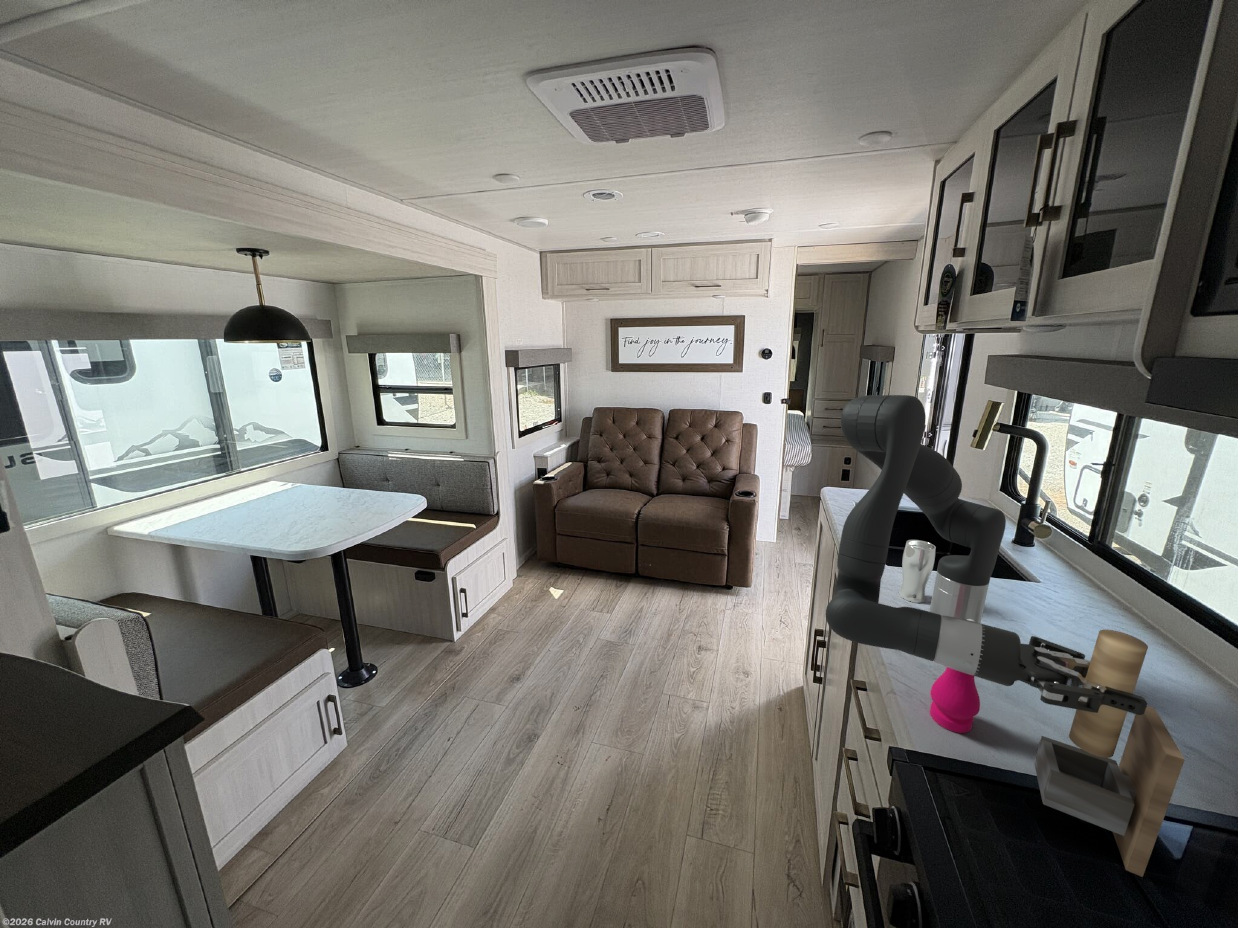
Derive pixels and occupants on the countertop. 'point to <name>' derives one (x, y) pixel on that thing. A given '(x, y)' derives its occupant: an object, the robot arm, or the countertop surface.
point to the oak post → (1116, 669)
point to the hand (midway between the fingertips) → (1137, 694)
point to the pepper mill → (954, 700)
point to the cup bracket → (1116, 785)
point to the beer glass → (916, 569)
